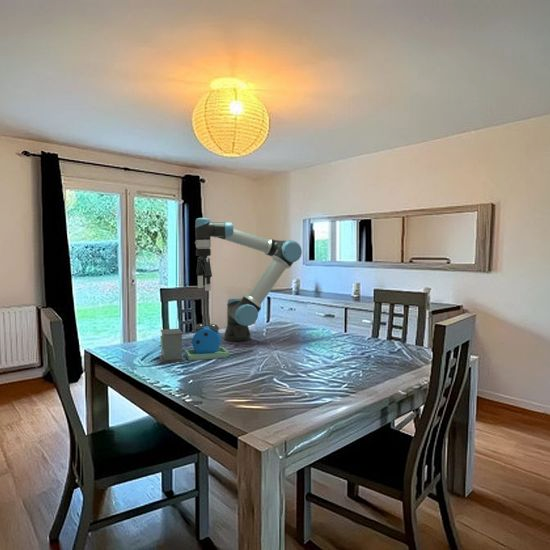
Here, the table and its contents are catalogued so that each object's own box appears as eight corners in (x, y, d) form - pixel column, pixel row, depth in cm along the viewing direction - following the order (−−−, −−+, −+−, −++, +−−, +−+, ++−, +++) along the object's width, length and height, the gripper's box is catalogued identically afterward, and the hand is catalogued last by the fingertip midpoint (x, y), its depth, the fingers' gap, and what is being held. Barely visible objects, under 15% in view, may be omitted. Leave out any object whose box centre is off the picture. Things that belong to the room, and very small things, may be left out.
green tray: (223, 351, 205) (223, 347, 205) (229, 357, 194) (229, 352, 194) (184, 354, 198) (184, 349, 198) (188, 360, 188) (188, 355, 187)
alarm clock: (221, 353, 199) (221, 322, 198) (219, 356, 193) (220, 325, 192) (194, 353, 199) (194, 322, 198) (191, 356, 193) (191, 325, 192)
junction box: (180, 354, 197) (180, 328, 197) (184, 361, 186) (184, 333, 185) (159, 356, 194) (159, 329, 193) (161, 363, 183) (161, 334, 182)
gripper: (190, 248, 221) (190, 287, 222) (202, 248, 198) (203, 292, 200) (203, 248, 224) (204, 286, 225) (217, 248, 201) (218, 291, 203)
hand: (204, 289), depth 213 cm, fingers open, 13 cm apart
